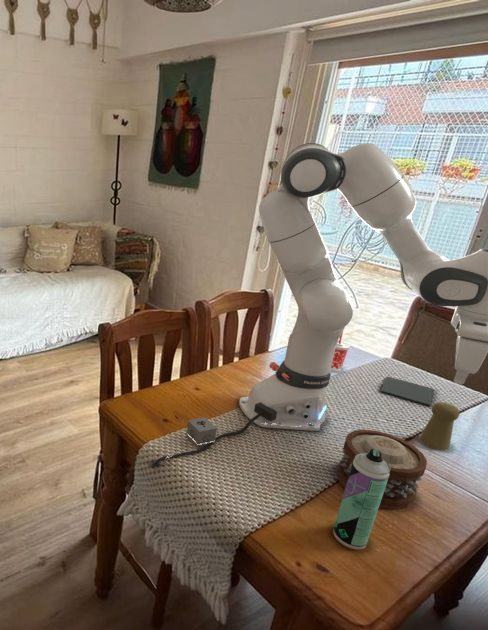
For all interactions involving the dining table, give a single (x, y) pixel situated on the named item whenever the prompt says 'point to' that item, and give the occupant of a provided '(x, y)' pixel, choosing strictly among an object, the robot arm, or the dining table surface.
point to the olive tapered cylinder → (440, 426)
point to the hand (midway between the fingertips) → (458, 375)
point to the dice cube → (201, 431)
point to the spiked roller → (400, 458)
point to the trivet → (408, 391)
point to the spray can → (361, 499)
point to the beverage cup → (339, 355)
